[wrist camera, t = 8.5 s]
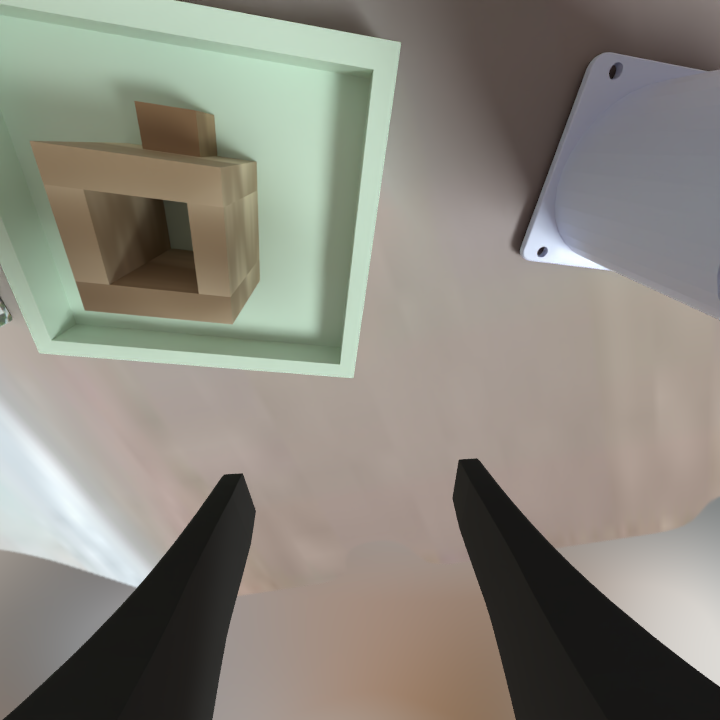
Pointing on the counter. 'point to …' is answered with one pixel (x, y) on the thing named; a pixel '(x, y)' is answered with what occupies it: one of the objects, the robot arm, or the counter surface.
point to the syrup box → (4, 314)
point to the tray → (234, 140)
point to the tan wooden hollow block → (156, 218)
